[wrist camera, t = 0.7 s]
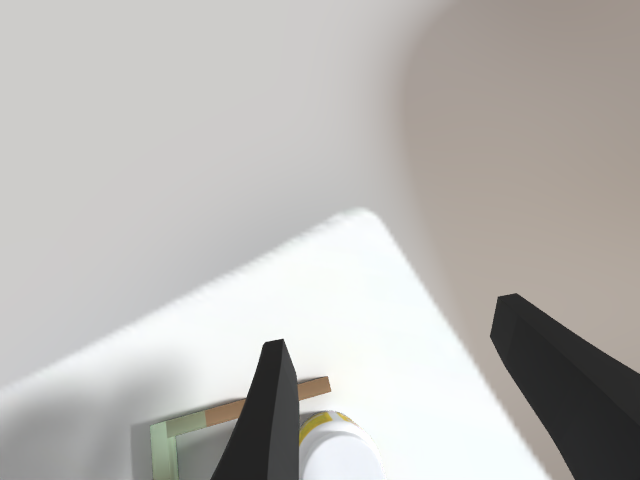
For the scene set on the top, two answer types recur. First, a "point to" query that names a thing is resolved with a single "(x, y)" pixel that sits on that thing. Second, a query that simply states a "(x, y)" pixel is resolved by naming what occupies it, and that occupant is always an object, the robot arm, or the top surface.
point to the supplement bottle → (337, 450)
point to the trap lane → (167, 430)
